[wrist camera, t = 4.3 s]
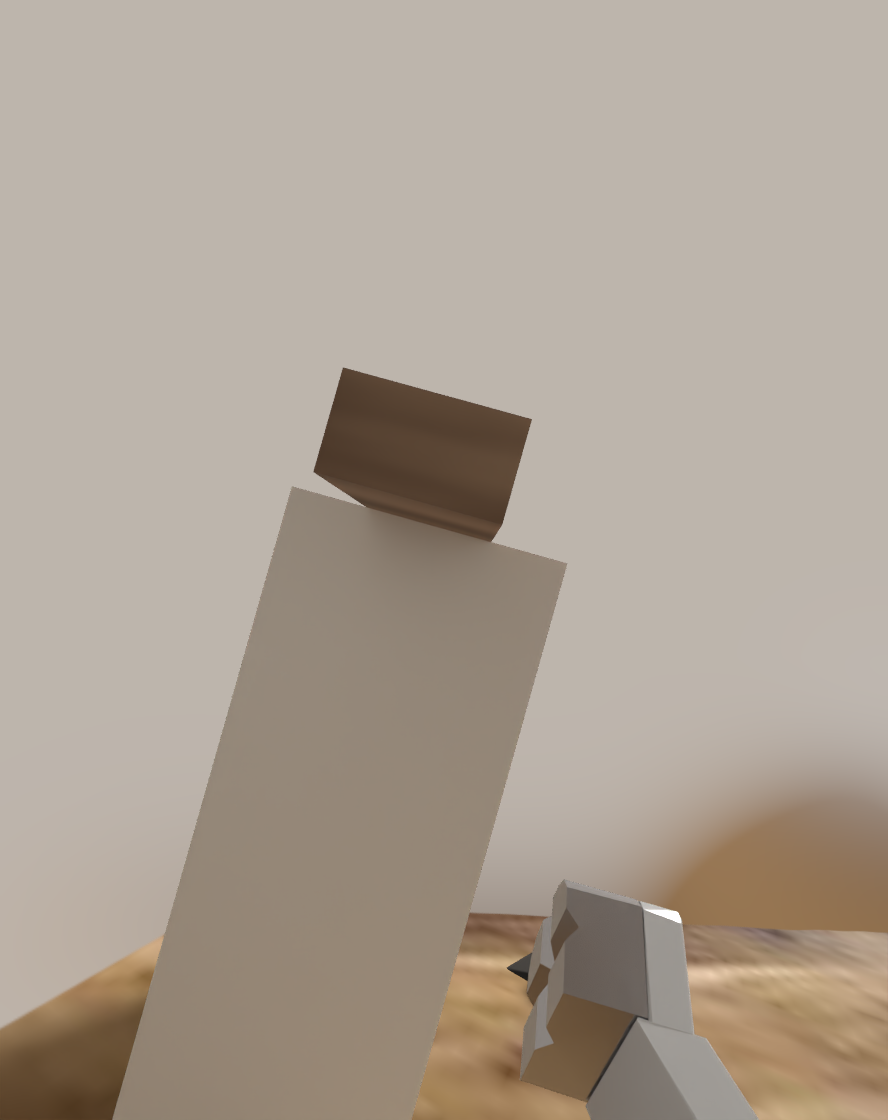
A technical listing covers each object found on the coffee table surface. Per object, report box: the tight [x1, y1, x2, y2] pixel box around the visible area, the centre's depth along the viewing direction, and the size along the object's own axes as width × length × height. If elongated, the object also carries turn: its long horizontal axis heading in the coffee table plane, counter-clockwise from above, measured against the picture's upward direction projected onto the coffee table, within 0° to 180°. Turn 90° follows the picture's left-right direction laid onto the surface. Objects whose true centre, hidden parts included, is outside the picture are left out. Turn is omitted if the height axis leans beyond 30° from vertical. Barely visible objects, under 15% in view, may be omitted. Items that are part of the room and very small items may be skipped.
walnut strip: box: [314, 368, 532, 542], centre depth 32 cm, size 26×4×2 cm, turn 178°
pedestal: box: [112, 487, 567, 1120], centre depth 37 cm, size 16×10×26 cm, turn 178°
